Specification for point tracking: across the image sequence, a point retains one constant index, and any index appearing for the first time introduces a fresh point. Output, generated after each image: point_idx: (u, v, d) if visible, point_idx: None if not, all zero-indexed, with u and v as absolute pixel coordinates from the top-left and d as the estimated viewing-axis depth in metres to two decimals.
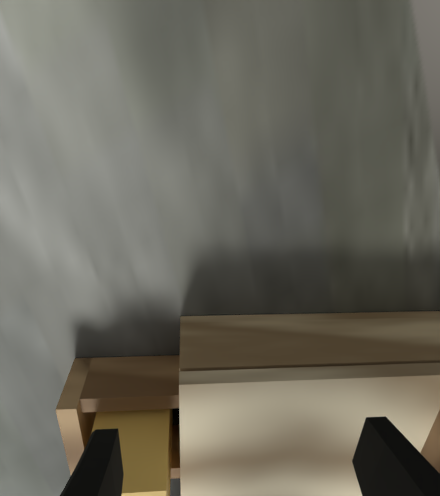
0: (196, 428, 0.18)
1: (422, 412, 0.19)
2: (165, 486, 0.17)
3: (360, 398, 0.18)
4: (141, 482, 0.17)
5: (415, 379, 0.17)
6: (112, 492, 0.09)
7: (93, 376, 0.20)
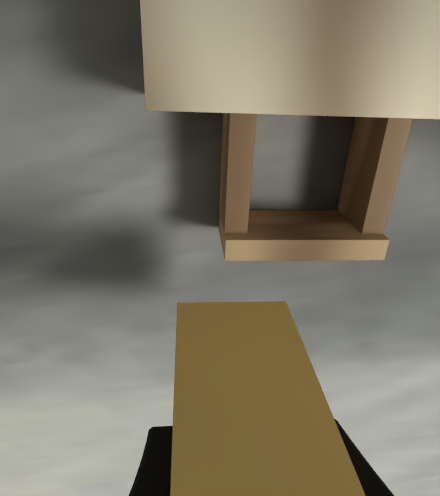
0: (240, 85, 0.11)
1: None
2: None
3: None
4: None
5: None
6: None
7: (221, 213, 0.17)
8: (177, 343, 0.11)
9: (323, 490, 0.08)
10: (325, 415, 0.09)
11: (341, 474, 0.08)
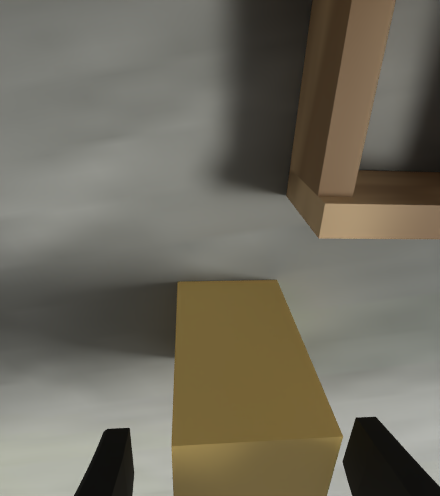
0: None
1: None
2: (172, 439, 0.08)
3: None
4: None
5: None
6: (124, 491, 0.09)
7: (303, 168, 0.11)
8: (177, 314, 0.13)
9: (303, 424, 0.09)
10: (308, 369, 0.10)
11: (320, 413, 0.09)
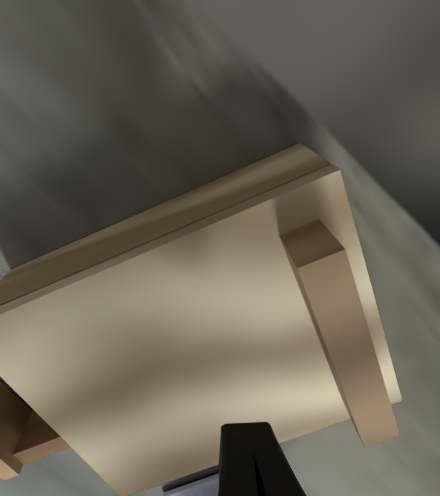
0: (21, 374, 0.16)
1: (267, 266, 0.14)
2: None
3: (171, 276, 0.14)
4: None
5: (218, 227, 0.13)
6: None
7: None
8: None
9: None
10: None
11: None
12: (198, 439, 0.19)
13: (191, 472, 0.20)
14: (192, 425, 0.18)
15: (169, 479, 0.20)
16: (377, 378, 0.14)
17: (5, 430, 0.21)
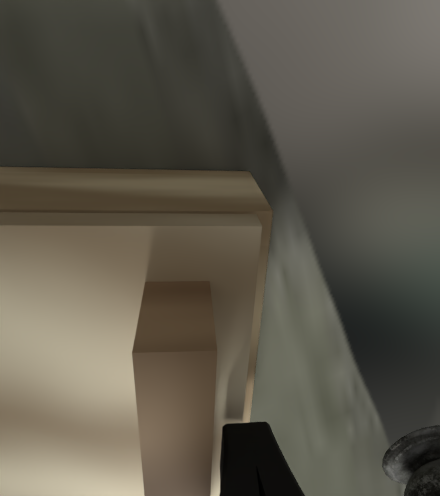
0: None
1: (112, 317, 0.09)
2: None
3: None
4: None
5: (55, 234, 0.08)
6: None
7: None
8: None
9: None
10: None
11: None
12: None
13: None
14: None
15: None
16: None
17: None
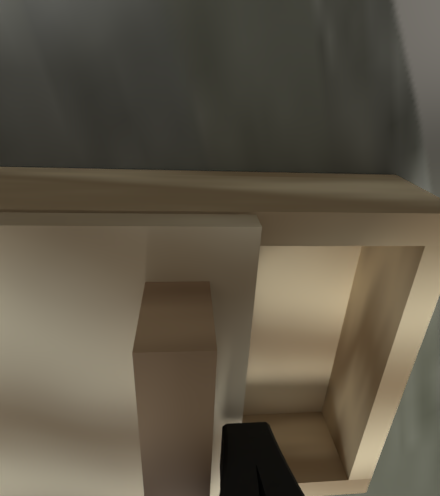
0: None
1: (112, 317, 0.09)
2: None
3: None
4: None
5: (55, 234, 0.08)
6: None
7: None
8: None
9: None
10: None
11: None
12: None
13: None
14: None
15: None
16: None
17: None
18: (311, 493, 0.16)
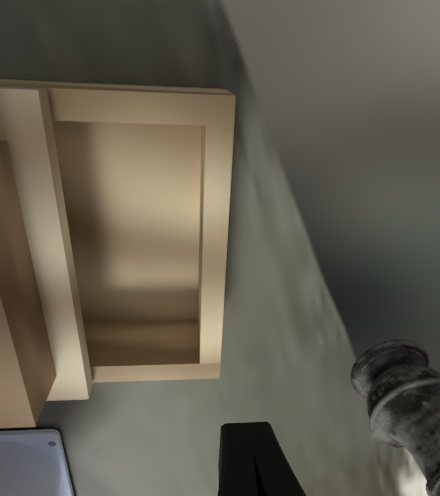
0: None
1: None
2: None
3: None
4: None
5: None
6: None
7: None
8: None
9: None
10: None
11: None
12: None
13: None
14: None
15: None
16: (6, 346, 0.12)
17: None
18: (169, 376, 0.18)
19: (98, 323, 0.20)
